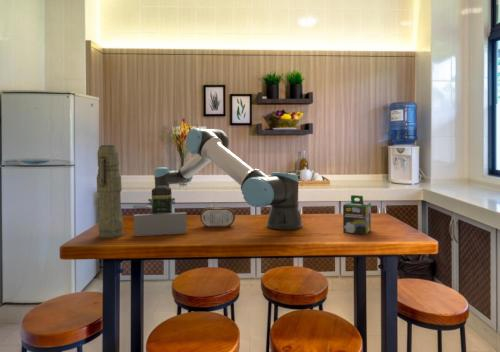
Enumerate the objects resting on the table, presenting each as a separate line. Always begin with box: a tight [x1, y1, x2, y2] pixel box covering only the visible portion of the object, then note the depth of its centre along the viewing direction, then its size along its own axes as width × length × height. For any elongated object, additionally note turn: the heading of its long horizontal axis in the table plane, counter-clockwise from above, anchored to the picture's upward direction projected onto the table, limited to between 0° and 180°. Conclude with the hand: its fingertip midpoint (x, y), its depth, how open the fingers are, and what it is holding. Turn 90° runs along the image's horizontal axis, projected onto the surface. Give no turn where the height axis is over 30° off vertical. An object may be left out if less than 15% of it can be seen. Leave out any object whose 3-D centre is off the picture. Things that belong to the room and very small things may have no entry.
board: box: [133, 211, 188, 237], centre depth 141 cm, size 3×20×8 cm, turn 103°
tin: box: [199, 206, 236, 228], centre depth 154 cm, size 15×3×8 cm, turn 92°
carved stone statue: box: [96, 144, 124, 239], centre depth 138 cm, size 9×12×35 cm
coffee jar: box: [151, 185, 173, 214], centre depth 146 cm, size 10×8×19 cm
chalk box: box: [342, 194, 372, 236], centre depth 143 cm, size 9×9×15 cm
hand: (161, 206), depth 159 cm, fingers closed
